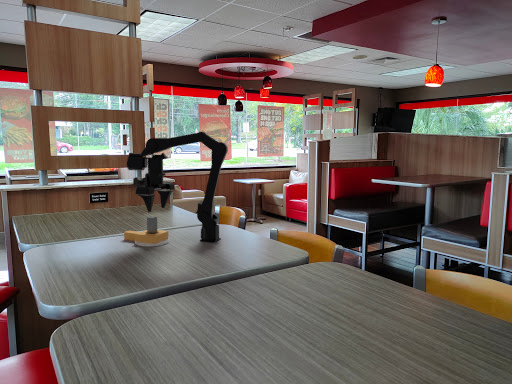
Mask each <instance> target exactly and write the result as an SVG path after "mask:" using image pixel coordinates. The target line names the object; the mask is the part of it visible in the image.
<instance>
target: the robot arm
mask: <svg viewBox="0 0 512 384" xmlns="http://www.w3.org/2000/svg"><path fill="white" fill-rule="evenodd" d="M196 143H201V144H202V145H203V146H205V147H207V148H208V149H209V150H211V158H210V159H211V164H210V169H209V170H210V171H209V175H208V179H207V184H206V189H205V193H204V197H203V200H202V201H201V200H200V201H199V202H198V203H197V209H196V212H195V214H196V219H197V220H198V221H199V222H201V228H200V239H199V242H204V243H211V244H214V243H216V242H219V241H220V240H221V239H222V238H221V237H220V225H219V224H217V223H219V220H220V219H219V217H218V216H217V215H216V214H215V213H214V211H215V210H214V209H215V208H214V207H215V205H214V203H215V195H216V192H217V186H218V181H219V178H220V173H221V169H222V166H223V163H224V161H225V159H226V156H227V155H228V152H229V147H228V146H227V143H225V142H222V141H217V140H216V139H214V138H213V137H211V136H210V135H208V134H207V133H206V132H205V131H198V132H194V133H190V134H189V133H188V134H185V135H184V134H183V135H179V136H174V137H173V136H172V137H152V138H149V139H147V141H146V142H145V147H144V148H143V150H142V151H141V153H140V152H139V153H137V152H129V153H128V155H127V156H128V157H127V161H126V167H127V170H128V171H145V170H146V169H147V173H145V174H144V177H140V176H135V177H134V178H133V181H132V183H133V186H134V187H136V188H135V189H134V190H135V191H134V192H135V193H134V194H135V195H137V196H138V197H140V198H141V199H142V200H143V203H144V204H145V207H146V210H147V212H148V213H151V212H152V210H153V204H154V201H155V196H156V194H155V191H157V193H158V194H159V198H160V205H161V208H162V209H165V208H166V205H167V204H168V201H169V199H170V197H171V195H172V193H173V192H174V190H176V189H175V188H176V187H175V184H174V182H164V177H165V176H166V172H164V160H167V159H169V157H168V156H167V155H166V153H165V152H164V151H167V150H169V149H172V148H176V147H180V146H186V145H192V144H196ZM158 153H159V154H158ZM148 156H149V157H148Z"/></svg>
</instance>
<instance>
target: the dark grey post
mask: <svg viewBox="0 0 512 384" xmlns="http://www.w3.org/2000/svg"><path fill="white" fill-rule="evenodd" d="M146 230H147V233H148V234H156V233H157V230H158V217H157V216H147V217H146Z"/></svg>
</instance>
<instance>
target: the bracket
mask: <svg viewBox="0 0 512 384" xmlns="http://www.w3.org/2000/svg"><path fill="white" fill-rule="evenodd" d="M123 237H124V238H123V239H124V241H131V242H134V244H135V246H139V247H148V248H149V247H150V248H151V247H160V246H165V245H167V244H170V238H169V231H168V230H161V229H157V233H156V234H148V233H147V229H146V230H144V231H135V230H127V231H124V232H123Z"/></svg>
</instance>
